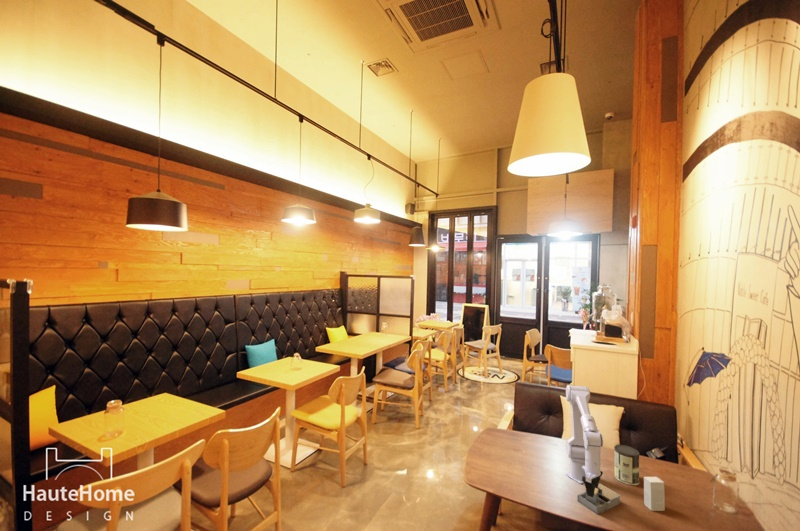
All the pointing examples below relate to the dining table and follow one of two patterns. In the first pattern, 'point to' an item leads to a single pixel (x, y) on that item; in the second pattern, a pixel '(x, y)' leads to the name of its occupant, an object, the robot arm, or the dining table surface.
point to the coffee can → (626, 464)
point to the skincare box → (654, 494)
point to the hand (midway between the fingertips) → (592, 491)
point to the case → (601, 505)
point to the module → (593, 499)
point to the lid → (607, 492)
